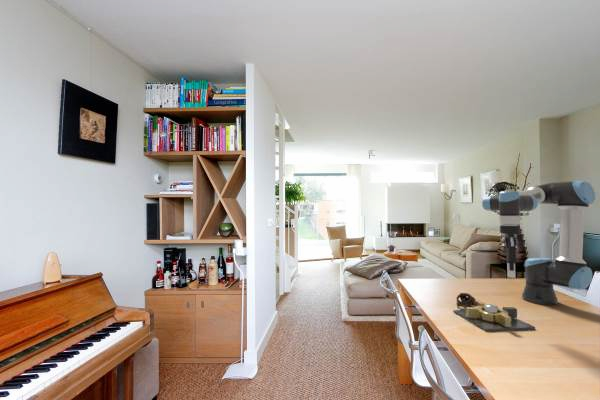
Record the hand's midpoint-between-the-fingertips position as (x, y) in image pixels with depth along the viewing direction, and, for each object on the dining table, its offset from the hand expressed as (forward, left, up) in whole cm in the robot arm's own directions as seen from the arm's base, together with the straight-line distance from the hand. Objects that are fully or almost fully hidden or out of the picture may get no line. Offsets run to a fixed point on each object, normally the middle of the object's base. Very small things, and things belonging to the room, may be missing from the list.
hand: (511, 277), depth 130 cm
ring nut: (+8, -2, -18) cm, 20 cm away
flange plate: (+8, -2, -20) cm, 22 cm away
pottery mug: (+8, -20, -20) cm, 29 cm away
